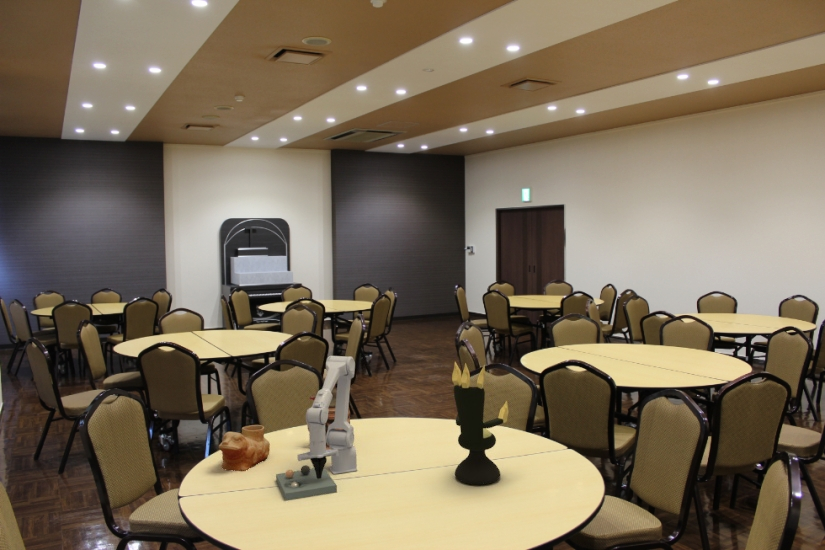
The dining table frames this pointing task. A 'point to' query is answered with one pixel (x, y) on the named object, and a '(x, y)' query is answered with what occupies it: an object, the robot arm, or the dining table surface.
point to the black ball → (305, 470)
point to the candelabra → (475, 429)
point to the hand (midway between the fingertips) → (318, 477)
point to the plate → (305, 484)
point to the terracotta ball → (289, 473)
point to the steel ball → (294, 484)
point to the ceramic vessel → (244, 448)
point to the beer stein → (331, 413)
